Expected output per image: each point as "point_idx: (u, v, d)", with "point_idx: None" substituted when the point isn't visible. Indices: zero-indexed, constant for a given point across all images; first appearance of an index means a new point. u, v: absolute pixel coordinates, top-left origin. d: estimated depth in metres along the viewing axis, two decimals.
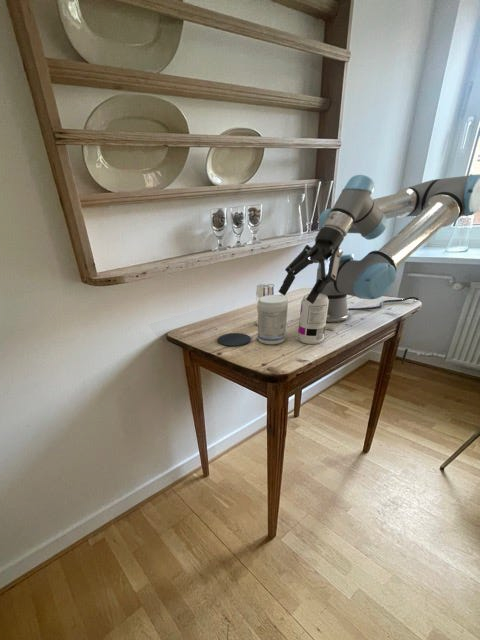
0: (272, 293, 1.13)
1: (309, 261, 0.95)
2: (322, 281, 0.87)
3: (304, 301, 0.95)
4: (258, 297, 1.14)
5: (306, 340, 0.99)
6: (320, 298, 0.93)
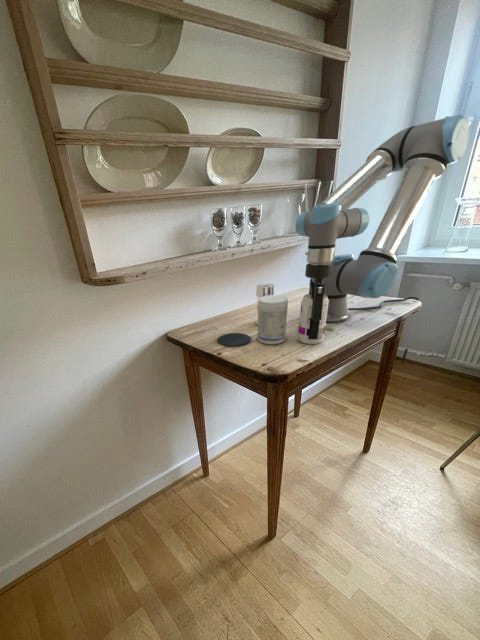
0: (272, 293, 1.13)
1: None
2: (312, 320, 0.94)
3: (304, 301, 0.95)
4: (258, 297, 1.14)
5: (306, 340, 0.99)
6: None
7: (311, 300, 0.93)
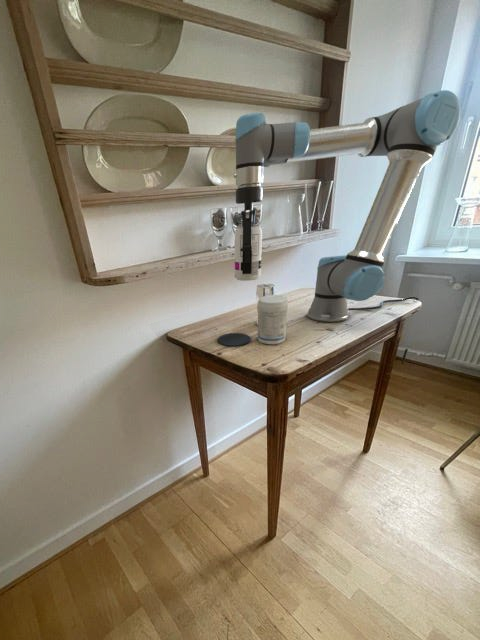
0: (272, 293, 1.13)
1: None
2: (244, 252, 0.89)
3: (236, 231, 0.89)
4: (258, 297, 1.14)
5: (241, 276, 0.94)
6: (252, 227, 0.87)
7: (242, 229, 0.87)
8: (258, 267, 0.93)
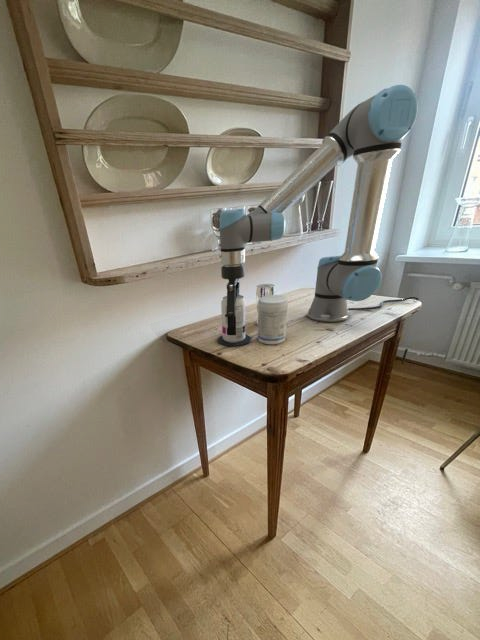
0: (272, 293, 1.13)
1: None
2: (229, 317, 0.97)
3: (222, 302, 1.01)
4: (258, 297, 1.14)
5: (227, 339, 1.05)
6: (236, 299, 0.99)
7: None
8: (242, 331, 1.04)
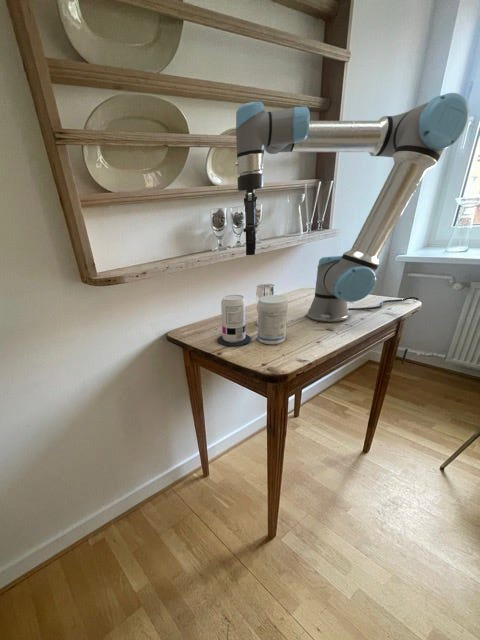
0: (272, 293, 1.13)
1: None
2: (247, 233, 0.89)
3: (222, 302, 1.01)
4: (258, 297, 1.14)
5: (227, 339, 1.05)
6: (236, 299, 0.99)
7: (227, 301, 0.99)
8: (242, 331, 1.04)
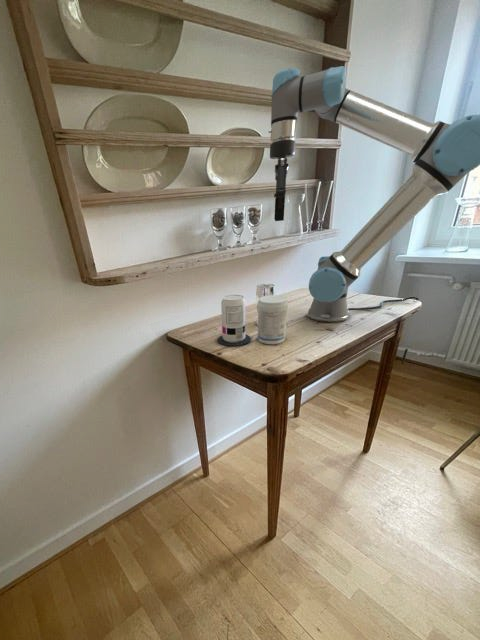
0: (272, 293, 1.13)
1: None
2: (278, 198, 0.93)
3: (222, 302, 1.01)
4: (258, 297, 1.14)
5: (227, 339, 1.05)
6: (236, 299, 0.99)
7: (227, 301, 0.99)
8: (242, 331, 1.04)
